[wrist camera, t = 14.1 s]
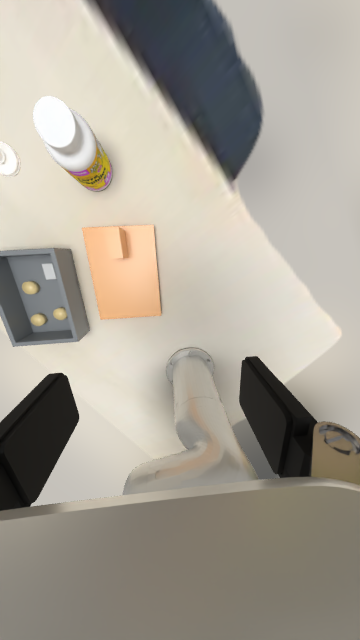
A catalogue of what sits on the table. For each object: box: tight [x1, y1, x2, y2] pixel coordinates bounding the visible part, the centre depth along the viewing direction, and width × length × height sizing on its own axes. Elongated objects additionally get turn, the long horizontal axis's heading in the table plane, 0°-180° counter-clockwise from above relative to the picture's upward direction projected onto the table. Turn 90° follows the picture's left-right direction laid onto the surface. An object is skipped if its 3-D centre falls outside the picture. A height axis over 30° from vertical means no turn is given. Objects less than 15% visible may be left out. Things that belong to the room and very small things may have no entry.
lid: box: [82, 225, 161, 320], centre depth 37 cm, size 19×14×7 cm
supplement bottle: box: [33, 96, 112, 191], centre depth 27 cm, size 7×7×13 cm
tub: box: [0, 248, 90, 347], centre depth 37 cm, size 18×13×6 cm
